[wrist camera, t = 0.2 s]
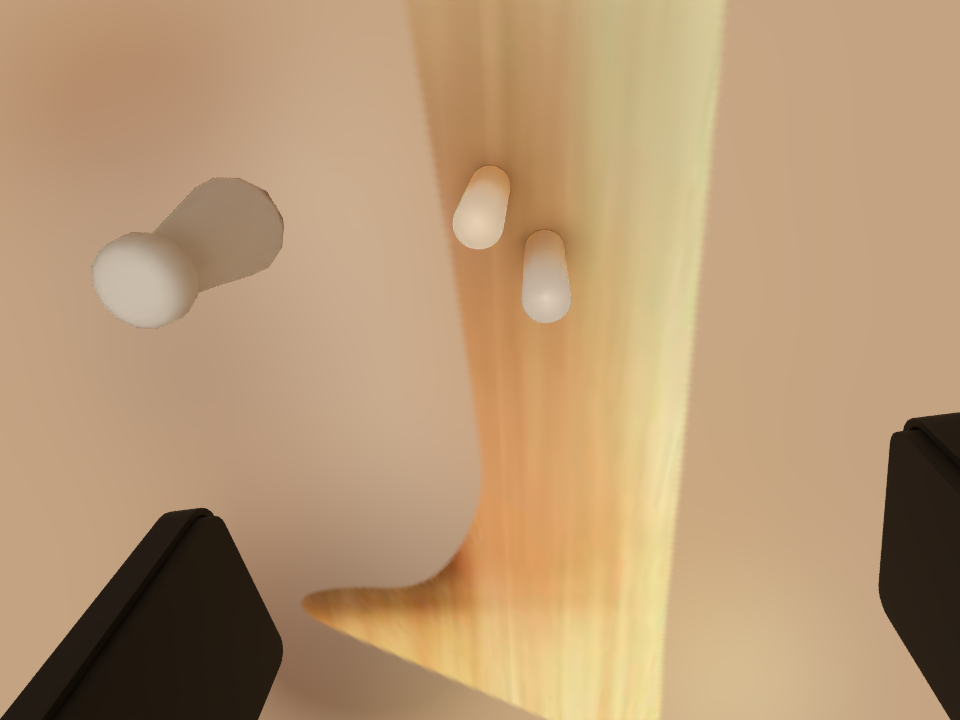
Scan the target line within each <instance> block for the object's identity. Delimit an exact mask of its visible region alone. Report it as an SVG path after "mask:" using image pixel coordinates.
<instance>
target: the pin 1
mask: <svg viewBox="0 0 960 720" xmlns="http://www.w3.org/2000/svg"><path fill="white" fill-rule="evenodd" d="M510 188H511V185H510V180H509V178H508V176H507V174H506V173H505V172H504V171H503V170H502V169H500V168H498V167H496V166H484V167H482V168H480V169H478V170H477V171H476V172H475V173H474V174H473V176H472V178H471V180H470V182H469V184H468V186H467V188H466V190H465V193H464V195H463V197H462V199H461V201H460V203H459V205H458V207H457V209H456V211H455V214H454V217H453V230H454V233H455V235H456V237H457V239H458V240H459V241H460V242H461V243H462V244H463V245H465V246H467V247H469V248H472V249H486V248H489V247H491V246H492V245H494V244H495V243H496V242H497V241H498V240H499V239H500V237H501V235H502V233H503V229H504V223H505V217H506V212H507V206H508V200H509V194H510Z"/></svg>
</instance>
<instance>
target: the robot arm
mask: <svg viewBox="0 0 960 720" xmlns="http://www.w3.org/2000/svg"><path fill="white" fill-rule="evenodd" d="M879 595H880V599H881V603H882V606H883V608H884V611H885V613H886V615H887V616H888V618H889V620H890V622H891V623H892V625H893V627H894V628H895V630H896V631H897V633H898V635H899V636H900V638H901V640H902V641H903V643H904V644H905V646H906V648H907V649H908V651H909V652H910V654H911V656H912V657H913V659H914V661H915V662H916V664H917V666H918V667H919V669H920V671H921V672H922V674H923V676H924V677H925V679H926V680H927V682H928V684H929V685H930V687H931V689H932V690H933V692H934V693H935V695H936V697H937V698H938V700H939V702H940V703H941V705H942V707H943V708H944V710H945V711H946V713H947V715H948V716H949V718H950V719H951V720H960V413H950V414H942V415H934V416H926V417H919V418H912V419H910V420H908V421H907V422H906V424H905V426H904V430H903V431H900V432H896V433H894V434H893V435H892V437H891V440H890V450H889V463H888V474H887V487H886V500H885V512H884V524H883V536H882V550H881V561H880V573H879ZM282 656H283V645H282V640H281V637H280V635H279V633H278V631H277V629H276V627H275V625H274V623H273V621H272V619H271V617H270V615H269V612H268V611H267V608H266V606H265V604H264V602H263V601H262V598H261V596H260V594H259V592H258V590H257V588H256V586H255V584H254V582H253V580H252V578H251V576H250V574H249V572H248V570H247V568H246V566H245V564H244V561H243V560H242V558H241V555H240V553H239V551H238V549H237V547H236V545H235V543H234V541H233V539H232V537H231V535H230V533H229V531H228V529H227V527H226V525H225V523H224V521H223V520H222V519H221V518H220V517H218V516H214V515H213V513H212V512H211V511H209V510H208V509H206V508H196V509H189V510H181V511H173V512H168V513H165V514H164V515H162V516H161V517H160V518H159V519H158V521H157V522H156V523H155V524H154V526H153V527H152V528H151V529H150V531H149V532H148V533H147V534H146V536H145V537H144V538H143V540H142V541H141V542H140V543H139V545H138V546H137V547H136V548H135V550H134V551H133V552H132V553H131V555H130V556H129V557H128V558H127V560H126V561H125V562H124V564H123V565H122V566H121V567H120V569H119V570H118V571H117V573H116V574H115V575H114V576H113V578H112V579H111V580H110V581H109V583H108V584H107V585H106V586H105V587H104V589H103V590H102V591H101V593H100V594H99V595H98V597H97V598H96V599H95V600H94V602H93V603H92V604H91V605H90V607H89V608H88V609H87V610H86V612H85V613H84V614H83V615H82V617H81V618H80V619H79V620H78V622H77V623H76V624H75V625H74V627H73V628H72V629H71V630H70V632H69V633H68V634H67V635H66V637H65V638H64V639H63V641H62V642H61V643H60V644H59V646H58V647H57V648H56V649H55V651H54V652H53V653H52V654H51V656H50V657H49V658H48V659H47V661H46V662H45V663H44V664H43V666H42V667H41V668H40V670H39V671H38V672H37V673H36V675H35V676H34V677H33V678H32V680H31V681H30V683H28V685H27V686H26V687H25V688H24V690H23V691H22V692H21V694H20V695H19V696H18V697H17V699H16V700H15V701H14V703H13V704H12V705H11V706H10V707H9V709H8V710H7V711H6V712H5V714H4V715H3V716H2V718H1V719H0V720H258V718H259V716H260V713H261V711H262V709H263V706H264V704H265V701H266V699H267V696H268V694H269V691H270V689H271V687H272V684H273V682H274V679H275V677H276V674H277V672H278V670H279V667H280V664H281V661H282Z"/></svg>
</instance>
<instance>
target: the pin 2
mask: <svg viewBox="0 0 960 720" xmlns="http://www.w3.org/2000/svg"><path fill="white" fill-rule="evenodd" d="M522 306H523V309H524V311H525V313H526V314H527V315H528V316H529V317H530V318H531V319H533V320H535V321H537V322H540V323H552V322H555V321H558V320H560V319H561V318H563V317H564V316H565V315H566V313H567V312H568V310H569V308H570V306H571V293H570V285H569V278H568V271H567V264H566V257H565V249H564V243H563V241H562V239H561V237H560V236H559V235H558V234H557V233H555V232H553V231H550V230H539V231H537V232H535V233H533V234H532V235H531V236H530V237H529V238H528V239H527V241H526V244H525V251H524V270H523V288H522Z"/></svg>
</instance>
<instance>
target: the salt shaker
mask: <svg viewBox="0 0 960 720" xmlns="http://www.w3.org/2000/svg"><path fill="white" fill-rule="evenodd" d="M283 229H284V225H283V218H282V216H281V214H280V213H279V211H278V209H277V207H276V205H275V204H274V203H273V201H272V200H271V198H270V197H269V194H268V193H267V192H266V191H265V190H263V189H260V188H258V187H256V186H254V185H252V184H250V183H248V182H246V181H244V180H242V179H240V178H212V179H210V180H209V181H207V182H205V183H203V184H201V185H199V186H198V187H196V188H194V190H193V191H192V192H191V193H190V194H189V195H188V196H187V197H186V198H185V199H184V200H183V201H182V203H180V204H179V205H178V207H177V208H176V209H175V210H174V211H173V212H172V213H171V214H170V215H169V216H168V217H167V218H166V219H165V220H164V221H163V222H162V223H161V225H160V226H159V227H158V228H157V229H156V230H155V231H154V232H153V233H138V232H131V233H129V234H126V235H123V236H121V237H120V238H118V239H116V240H115V241H112V242H111V243H109V244H107V245H106V246H105V247H104V248H103V249H101V250H100V252H99V253H98V255H97V257H96V259H95V261H94V262H93V264H92V279H93V280H92V281H93V287H94V289H95V291H96V293H97V295H98V297H99V299H100V301H101V303H102V305H104V306H105V307H106V308H107V309H108V310H109V311H110V312H111V313H112V314H113V315H114V316H116V317H117V318H118V319H119V320H121V321H123V322H125V323H128V324H130V325H132V326H134V327H136V328H149V329H157V328H160V327H163V326H165V325H167V324H169V323H172V322H174V321H176V320H178V319H181V318H182V317H183V316H184V315H185V314H186V313H187V312H188V311H189V310H190V308H191V307H192V305H193V303H194V302H195V300H196V298H197V296H198V293H199V292H202V291H204V290H207V289H210V288H213V287H216V286H219V285H222V284H225V283H228V282H231V281H235V280H237V279H241V278H244V277H247V276H250V275H253V274H255V273H257V272H259V271H262V270H264V269H266V268H268V267H269V266H270V265H271V263H272V262H273V260H274V259H275V257H276V256H277V254H278V253H279V251H280V250H281V248H282V239H283Z"/></svg>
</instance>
